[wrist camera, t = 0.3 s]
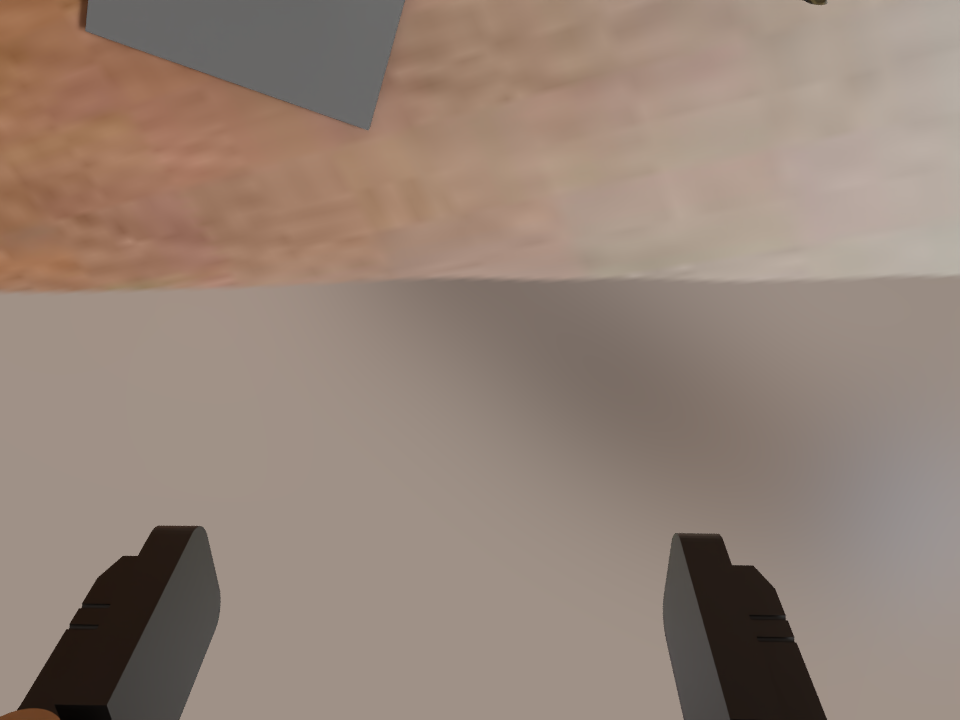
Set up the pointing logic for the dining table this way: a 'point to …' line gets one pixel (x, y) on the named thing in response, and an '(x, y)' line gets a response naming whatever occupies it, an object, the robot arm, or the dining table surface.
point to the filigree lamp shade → (817, 2)
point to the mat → (268, 45)
